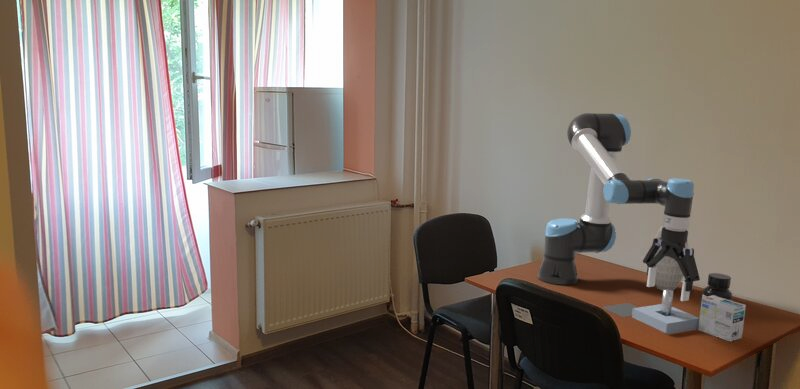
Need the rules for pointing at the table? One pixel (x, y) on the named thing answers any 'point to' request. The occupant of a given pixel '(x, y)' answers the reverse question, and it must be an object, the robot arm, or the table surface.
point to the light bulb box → (721, 318)
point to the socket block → (666, 319)
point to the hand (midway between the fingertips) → (667, 293)
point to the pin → (667, 302)
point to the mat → (621, 309)
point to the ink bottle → (718, 286)
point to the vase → (667, 270)
